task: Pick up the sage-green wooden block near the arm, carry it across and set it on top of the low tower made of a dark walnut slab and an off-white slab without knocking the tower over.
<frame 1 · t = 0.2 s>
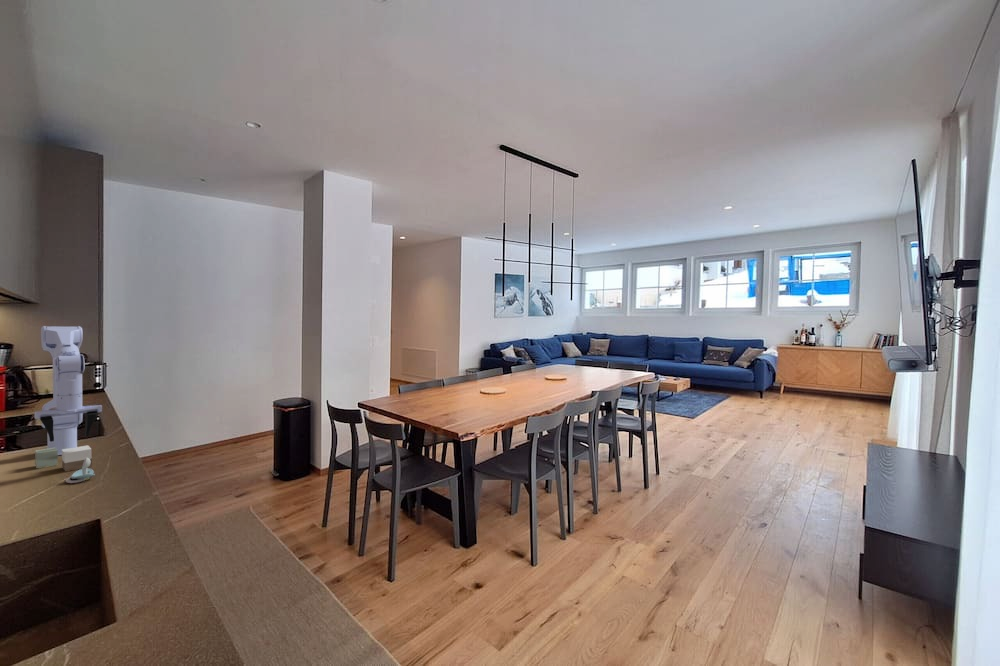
hand: (69, 438, 132), 10 cm above the counter, tool pointing down, fingers open, 7 cm apart
top slab: (76, 458, 134), point 3 cm above the counter, touching base slab
pacifier: (80, 480, 124), on the counter
green block: (46, 466, 135), on the counter
base slab: (77, 468, 134), on the counter, touching top slab
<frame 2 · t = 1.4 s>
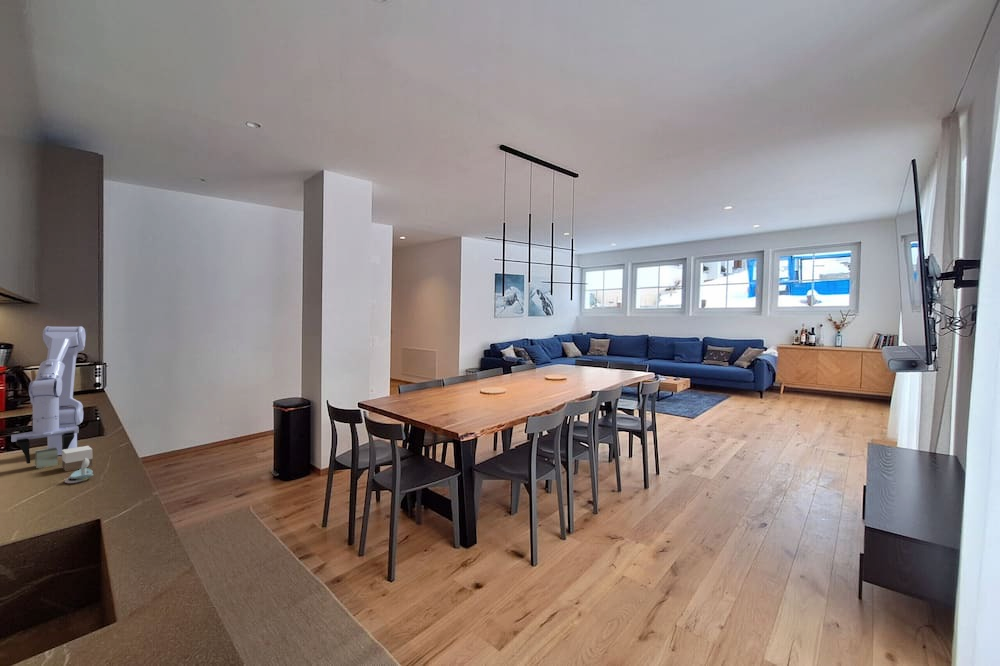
hand: (46, 459, 135), 2 cm above the counter, tool pointing down, fingers open, 7 cm apart
nothing on the counter moved.
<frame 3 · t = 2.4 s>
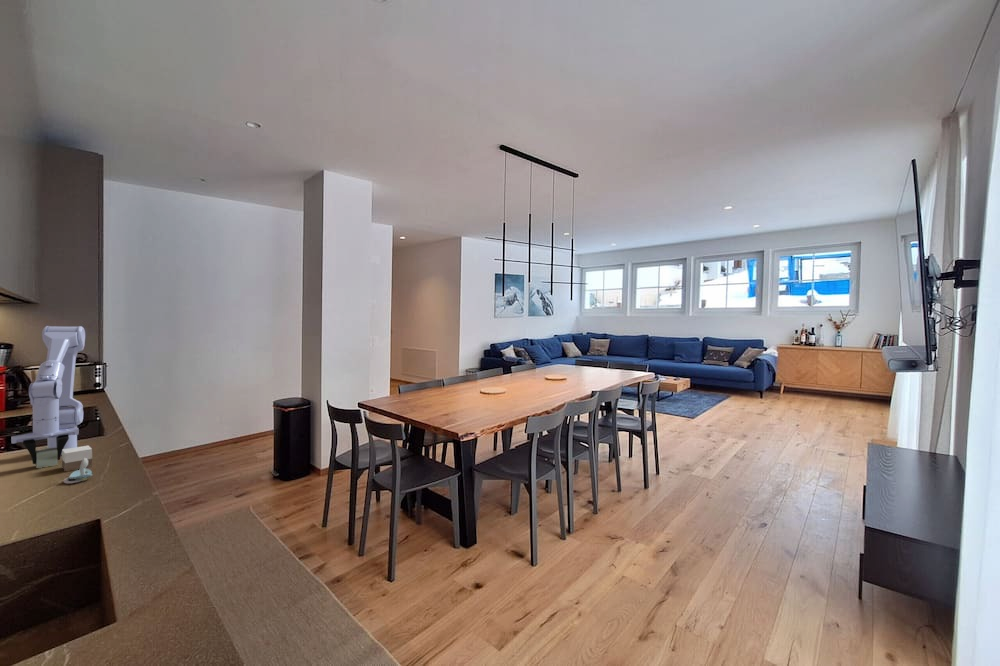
hand: (46, 461, 135), 1 cm above the counter, tool pointing down, fingers closed on green block, 4 cm apart
green block: (46, 465, 135), on the counter, touching gripper
everything else where it was.
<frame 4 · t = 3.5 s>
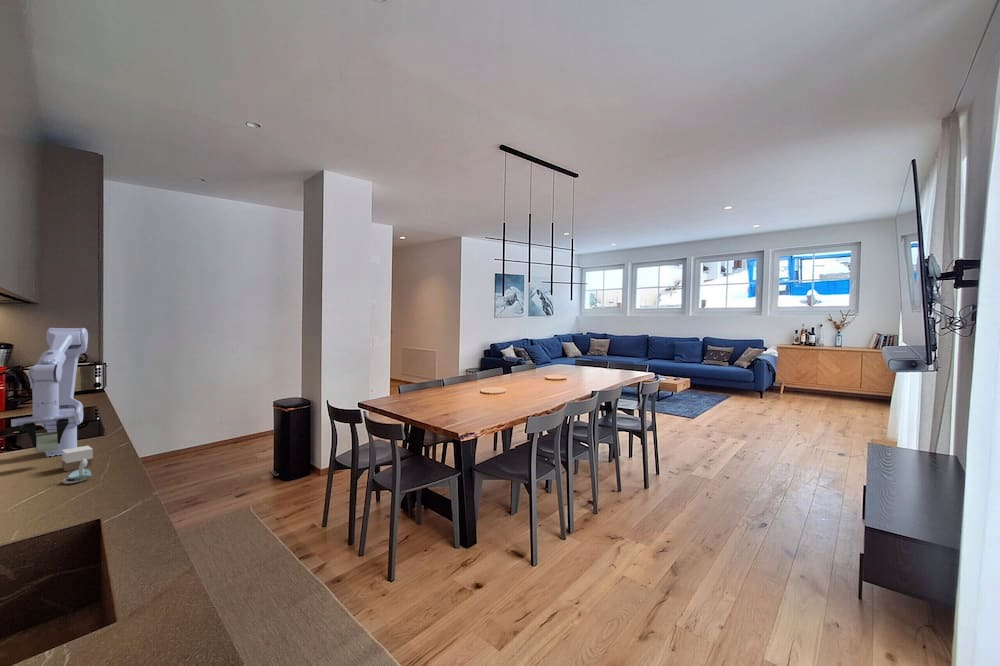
hand: (46, 445, 135), 7 cm above the counter, tool pointing down, fingers closed on green block, 4 cm apart
green block: (46, 449, 135), point 5 cm above the counter, touching gripper
everything else where it was.
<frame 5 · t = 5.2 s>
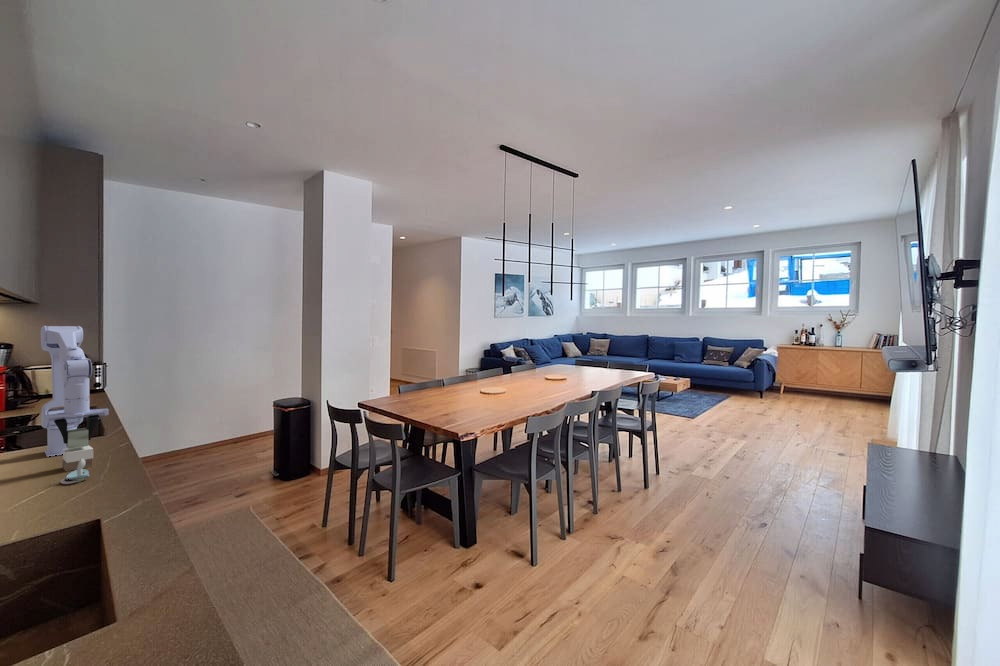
hand: (77, 441, 134), 8 cm above the counter, tool pointing down, fingers closed on green block, 4 cm apart
green block: (77, 445, 134), point 7 cm above the counter, touching gripper
when the fingers open (8 cm above the counter, at t = 5.7 s): green block drops 1 cm, resting on top slab.
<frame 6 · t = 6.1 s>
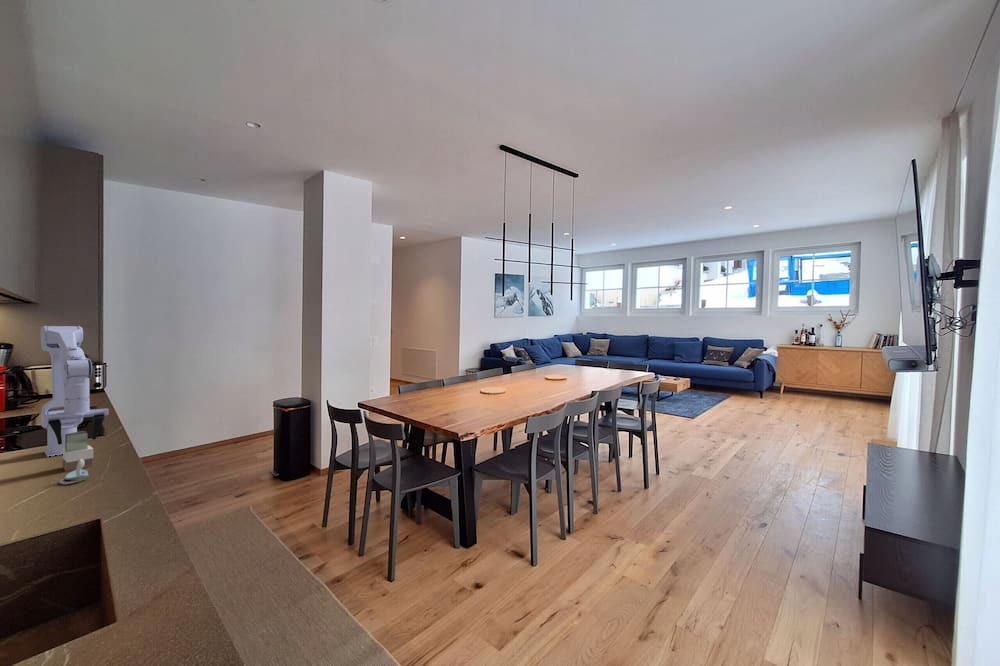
hand: (77, 441, 134), 8 cm above the counter, tool pointing down, fingers open, 7 cm apart
top slab: (78, 458, 135), point 3 cm above the counter, touching base slab, green block
green block: (76, 449, 134), point 6 cm above the counter, touching top slab
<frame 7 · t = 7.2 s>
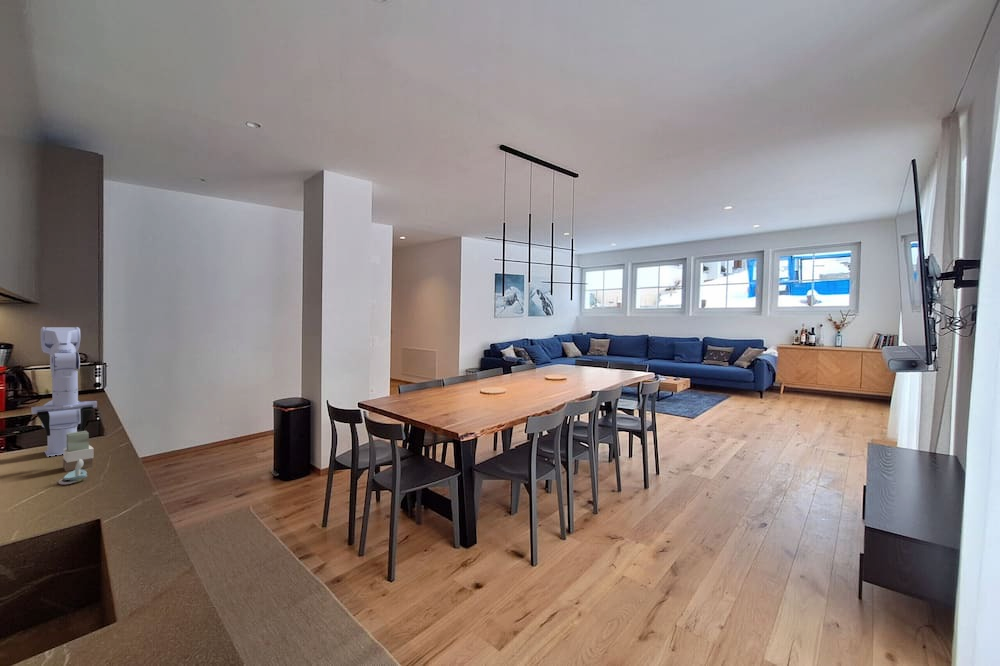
hand: (65, 433, 136), 10 cm above the counter, tool pointing down, fingers open, 7 cm apart
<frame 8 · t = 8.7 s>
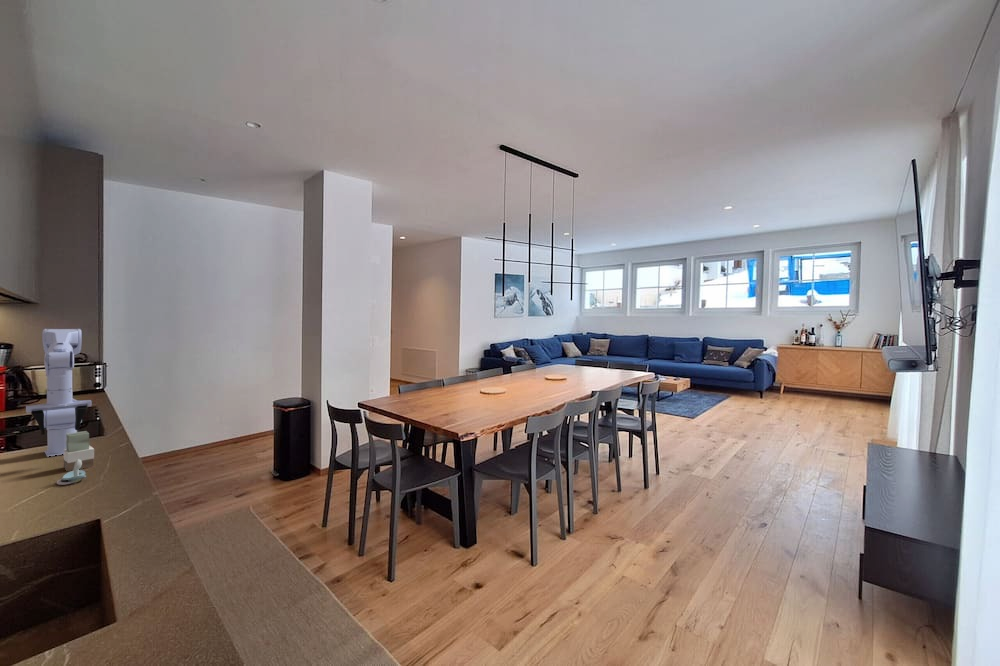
hand: (60, 431, 137), 10 cm above the counter, tool pointing down, fingers open, 7 cm apart
at the end: green block 0.3 cm off-centre on the top slab, point 3.0 cm above the top slab's base; green block tilted 1°; top slab 0.1 cm from the base slab (horizontally) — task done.
